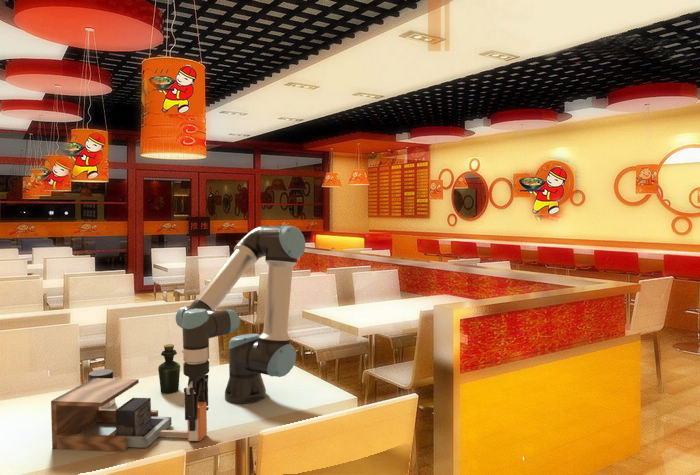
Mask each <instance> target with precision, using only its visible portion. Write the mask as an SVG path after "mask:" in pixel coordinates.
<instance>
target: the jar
mask: <svg viewBox="0 0 700 475" xmlns="http://www.w3.org/2000/svg"><path fill="white" fill-rule="evenodd" d="M87 375H88V378H87V381H89V380H91V379H93V378H110V379H116V378H115V376H114V370H113V369H111V368H103V369H96V370H92V371H90V372H88V374H87ZM115 403H116V398H114V399H113V400H111V401H110V402H108V403H107V404H105V405H104V406H102V407H99V408H100V409H109V408H111V407H112V406H113V405H114V404H115Z"/></svg>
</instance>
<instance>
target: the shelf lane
mask: <svg viewBox="0 0 700 475" xmlns="http://www.w3.org/2000/svg"><path fill="white" fill-rule="evenodd" d="M139 381H140V380H139V378H137V379H136V378H115V379H110V378H93V379H91V380H89V381H88V380H87V381H86V382H84V383H82V384H79V385H78V386H75V388H73V389H70V390H69V391H67V392H65V393H63V394H61V395H59V396H57V397H56V398H54V399H52V400H51V401H50V406H51V407H50V412H51V413H50V414H51V415H50V418H51V448H52V450H72V451H73V450H74V451H91V452H92V451H94V452H95V451H96V452H114V453H115V452H116V453H117V452H118V453H119V452H121V453H122V452H123V453H125V452H126V451H127V450H128V447H127V436H113V435H109V434H107V435H106V434H89V433H88V434H85V433H83V432H85V431H86V430H87V429H88V428H90V427H92V426H93V425H95V424H96V423H111V424H112V423H114V424H116V411H115V410H116V409H117V408H103V409H100V408H99V407H102V406H104V405H105V404H107V403H108V402H110V401H111V400H113V399H114V398H115V399H116V398H117V397H119V396H121V395H122V394H124V393H126V392H127V391H129V390H130V389H132V388H133V387H135V386H136V385H138V384H139ZM151 416H155V417H159V410H158V409H156V410H155V409H151Z"/></svg>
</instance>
